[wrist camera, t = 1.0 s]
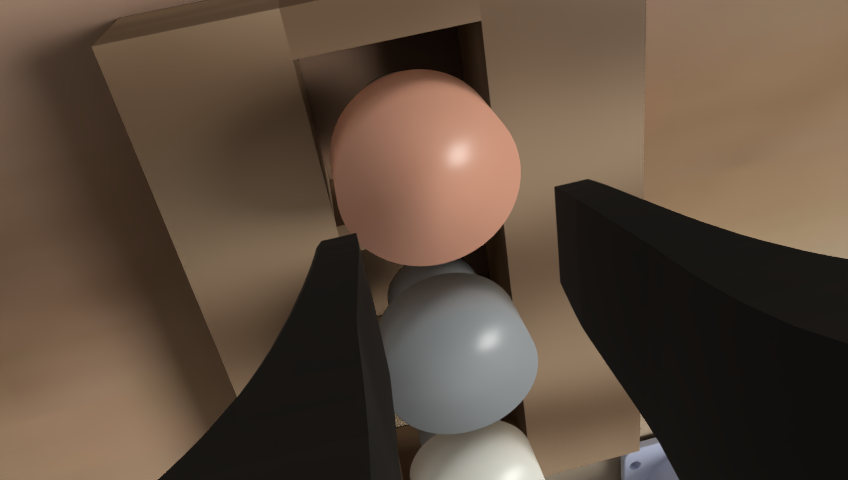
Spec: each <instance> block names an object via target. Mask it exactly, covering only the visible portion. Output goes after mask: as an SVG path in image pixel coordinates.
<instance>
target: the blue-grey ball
mask: <svg viewBox="0 0 848 480" xmlns="http://www.w3.org/2000/svg"><path fill="white" fill-rule="evenodd" d="M388 304H389V306H388V307H387V309H386V310H385V312H384V313H383V315H382V317H381V319H380V322H379V327H380V331H381V336H382V340H383V345H384V349H385V354H386V358H387V363H388V367H389V372H390V378H391V387H392V397H393V406H394V412H395V413H396V415H397V416H398V417H399V418H401V419H402V420H403V421H404V422H406V423H407V424H409V425H410V426H412V427H414V428H417V429H419V430H422V431H425V432H430V433H435V434H459V433H466V432H470V431H474V430H477V429H481V428H483V427H486V426H488V425H491V424H492V423H494V422H496V421H498V420H500V419H501V418H503V417H504V416H506V415H507V414H509V413H510V412H511V411H512V410H514V409H515V408H516V407H517V406H518V405H519V404H520V403H521V402H522V400H523V399H524V398H525V397H526V395H527V394H528V392H529V391H530V389H531V387H532V385H533V383H534V381H535V378H536V374H537V369H538V354H537V349H536V347H535V344H534V342H533V340H532V338H531V336H530V334H529V332H528V330H527V328H526V326H525V324H524V323H523V321H522V319H521V317H520V315H519V313H518V311H517V309H516V307H515V305H514V303H513V302H512V300H511V298H510V296H509V295H508V294H507V293H506V291H505V290H504V289H503V288H501V287H500V286H499V285H498V284H496V283H495V282H493V281H492V280H490V279H487V278H485V277H482V276H479V275H476V274H475V272H474V270H473V269H472V268H471V266H470V265H469V264H468V263H466V262H465V261H464V260H462V259H460V258H459V259H456V260H454V261H450V262H447V263H444V264H438V265H433V266H408V265H405V266H403V267H402V268H401V269H400V270H399V271H398V272H397V274H396V275H395V276H394V278H393V280H392V282H391V284H390V287H389V290H388Z"/></svg>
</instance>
